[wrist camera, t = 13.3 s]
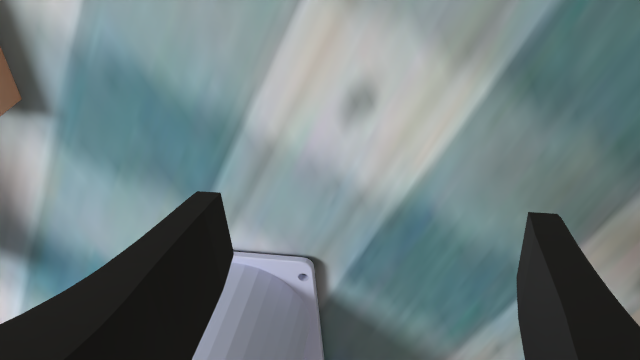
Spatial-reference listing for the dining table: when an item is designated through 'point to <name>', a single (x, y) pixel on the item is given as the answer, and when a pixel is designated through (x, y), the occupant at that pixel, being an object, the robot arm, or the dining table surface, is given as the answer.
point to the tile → (7, 87)
